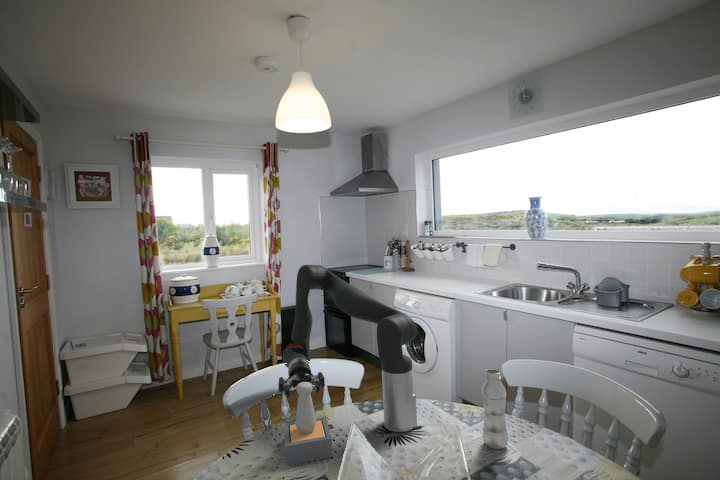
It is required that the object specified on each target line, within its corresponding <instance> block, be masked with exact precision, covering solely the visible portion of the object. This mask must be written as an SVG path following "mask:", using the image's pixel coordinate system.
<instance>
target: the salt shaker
mask: <svg viewBox="0 0 720 480" xmlns="http://www.w3.org/2000/svg"><path fill="white" fill-rule="evenodd" d="M295 390H296V394H298V398H297V404H296V405H297V407H296V415H295V420H294V421H295V423H296V427H297V428H298V430H299V432H300V433H301V434H309V433H311V432H313V430H314V427H315V425H316V423H317V420H316V418H317V416H316V412H315V407H314V404H313V403H314V402H313V399H312V395H311V393H312V391H313V388H312V384H311V383H309V382H302V383H299V384H298V385H297V388H296V389H295Z"/></svg>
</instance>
